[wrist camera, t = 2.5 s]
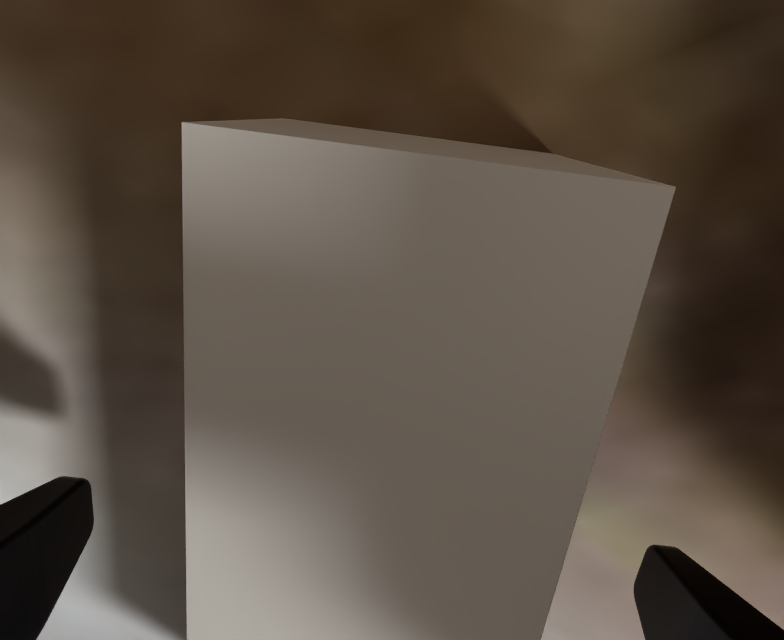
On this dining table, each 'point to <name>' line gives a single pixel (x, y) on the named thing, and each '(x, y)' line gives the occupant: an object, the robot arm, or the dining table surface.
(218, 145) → the tall cream pillar
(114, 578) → the dining table surface
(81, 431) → the dining table surface
